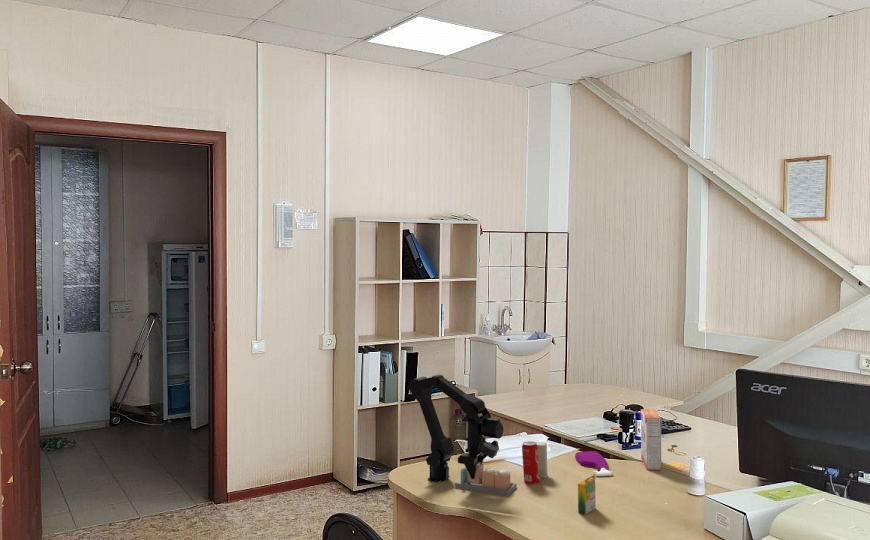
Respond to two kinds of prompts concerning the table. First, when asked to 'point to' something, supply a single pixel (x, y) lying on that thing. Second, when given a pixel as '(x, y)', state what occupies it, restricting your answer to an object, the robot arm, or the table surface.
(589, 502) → the crayon box
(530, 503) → the table surface
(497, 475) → the front jar
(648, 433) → the cracker box
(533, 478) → the beverage can
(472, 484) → the tray
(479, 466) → the loose jar
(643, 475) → the table surface
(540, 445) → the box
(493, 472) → the middle jar
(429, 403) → the robot arm
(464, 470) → the pusher plate
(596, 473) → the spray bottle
